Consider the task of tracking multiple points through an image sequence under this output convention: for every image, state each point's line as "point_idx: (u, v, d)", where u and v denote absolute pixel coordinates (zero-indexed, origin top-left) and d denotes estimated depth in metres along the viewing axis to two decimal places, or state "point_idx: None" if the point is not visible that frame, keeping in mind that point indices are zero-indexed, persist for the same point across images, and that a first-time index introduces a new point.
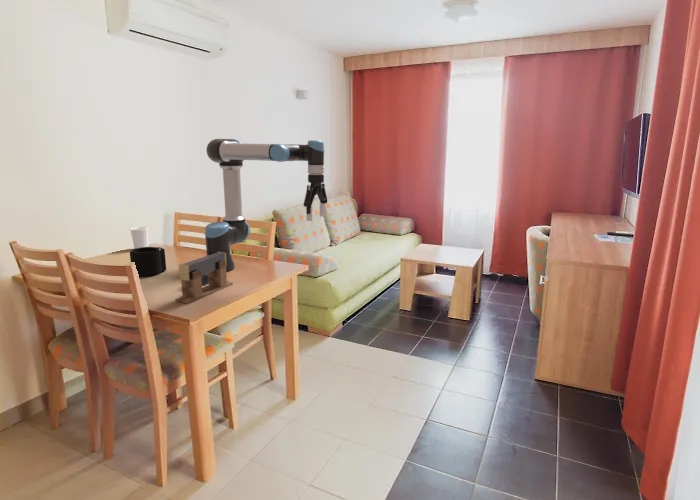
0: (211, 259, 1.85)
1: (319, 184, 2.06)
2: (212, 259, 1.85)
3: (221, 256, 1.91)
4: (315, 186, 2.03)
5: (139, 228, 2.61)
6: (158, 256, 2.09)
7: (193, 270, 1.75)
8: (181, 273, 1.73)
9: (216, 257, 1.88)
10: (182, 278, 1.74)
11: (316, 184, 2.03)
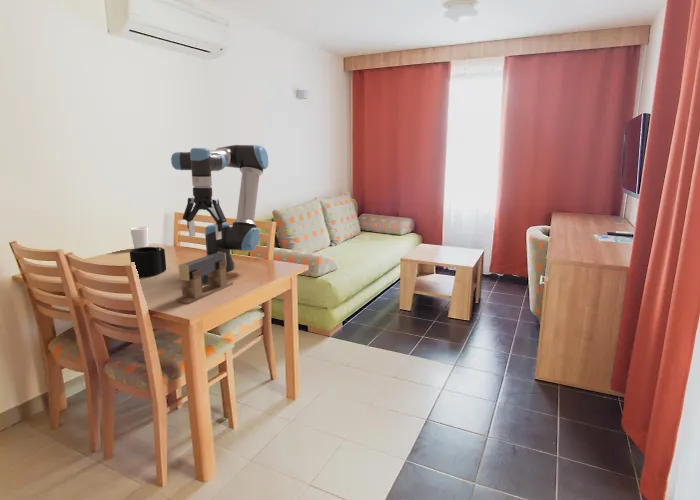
0: (211, 259, 1.85)
1: (204, 199, 1.76)
2: (212, 259, 1.85)
3: (221, 256, 1.91)
4: (196, 200, 1.78)
5: (139, 228, 2.61)
6: (158, 256, 2.09)
7: (193, 270, 1.75)
8: (181, 273, 1.73)
9: (216, 257, 1.88)
10: (182, 278, 1.74)
11: (198, 198, 1.77)
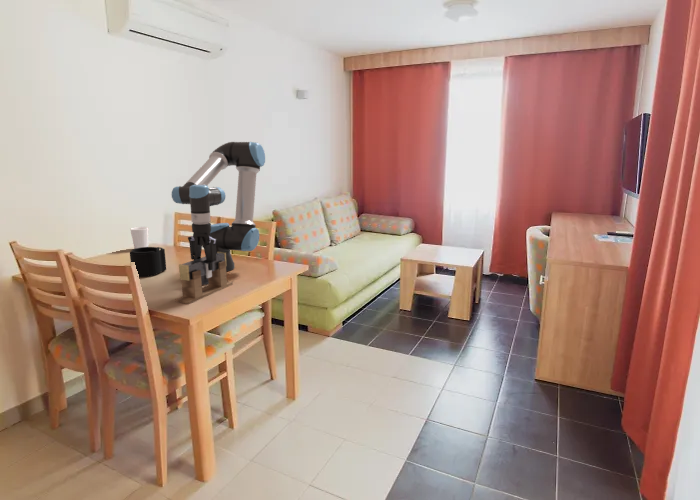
0: None
1: (203, 235, 1.79)
2: None
3: (221, 256, 1.91)
4: (195, 235, 1.81)
5: (139, 228, 2.61)
6: (158, 256, 2.09)
7: (193, 270, 1.75)
8: (181, 273, 1.73)
9: (216, 257, 1.88)
10: (182, 278, 1.74)
11: (197, 233, 1.80)
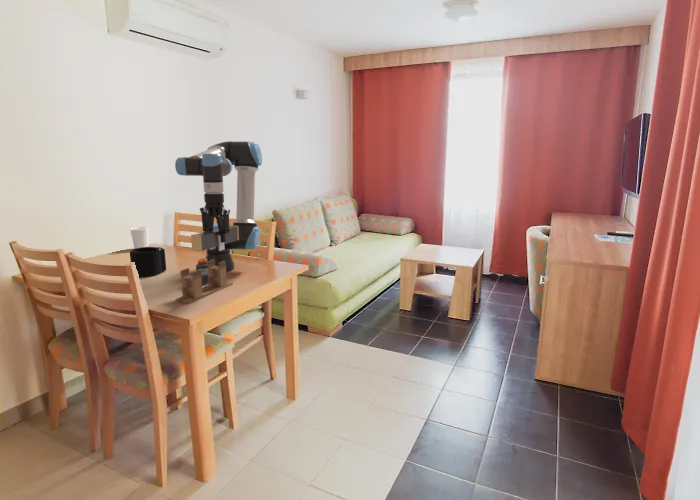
0: None
1: (215, 205, 1.73)
2: None
3: (233, 229, 1.85)
4: (207, 206, 1.75)
5: (139, 228, 2.61)
6: (158, 256, 2.09)
7: (206, 241, 1.69)
8: (193, 244, 1.67)
9: None
10: (194, 249, 1.68)
11: (209, 204, 1.74)
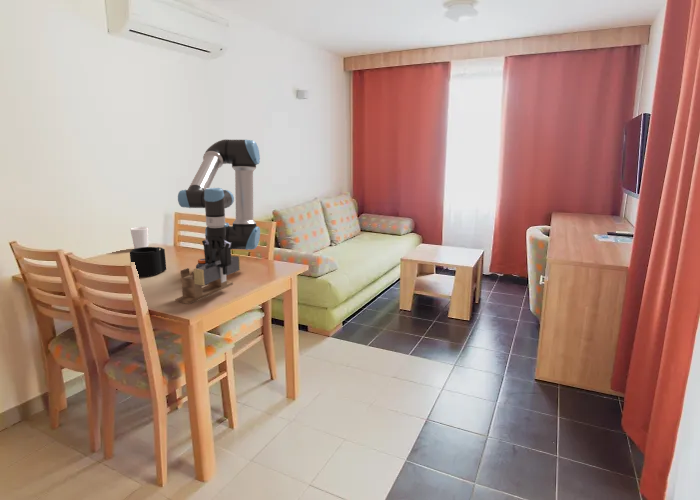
0: None
1: (217, 238, 1.76)
2: None
3: (235, 260, 1.88)
4: (209, 239, 1.78)
5: (139, 228, 2.61)
6: (158, 256, 2.09)
7: (208, 274, 1.73)
8: (196, 277, 1.71)
9: None
10: (197, 283, 1.71)
11: (211, 237, 1.77)
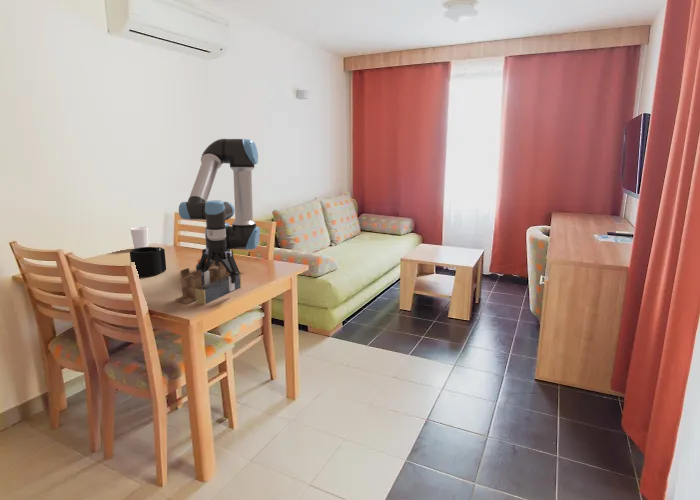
0: (226, 281, 1.84)
1: (218, 251, 1.78)
2: (227, 281, 1.85)
3: (236, 278, 1.90)
4: (210, 251, 1.79)
5: (139, 228, 2.61)
6: (158, 256, 2.09)
7: (209, 294, 1.75)
8: (197, 297, 1.73)
9: None
10: (198, 302, 1.73)
11: (212, 249, 1.79)
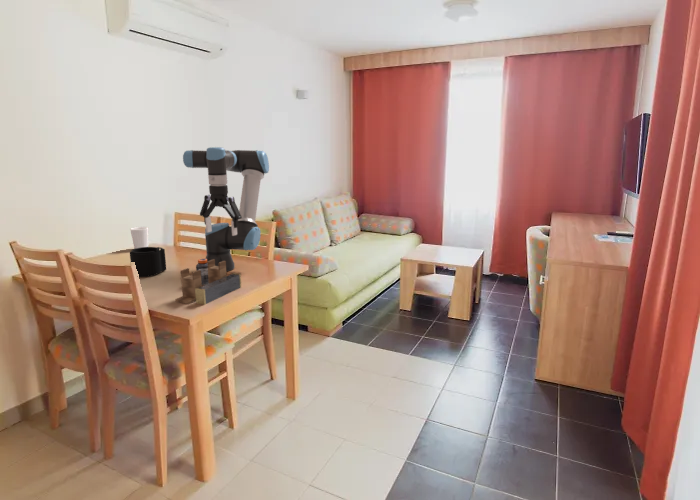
0: (226, 281, 1.84)
1: (220, 197, 1.83)
2: (227, 281, 1.85)
3: (236, 278, 1.90)
4: (212, 197, 1.85)
5: (139, 228, 2.61)
6: (158, 256, 2.09)
7: (209, 294, 1.75)
8: (197, 297, 1.73)
9: (231, 279, 1.87)
10: (198, 302, 1.73)
11: (214, 195, 1.84)
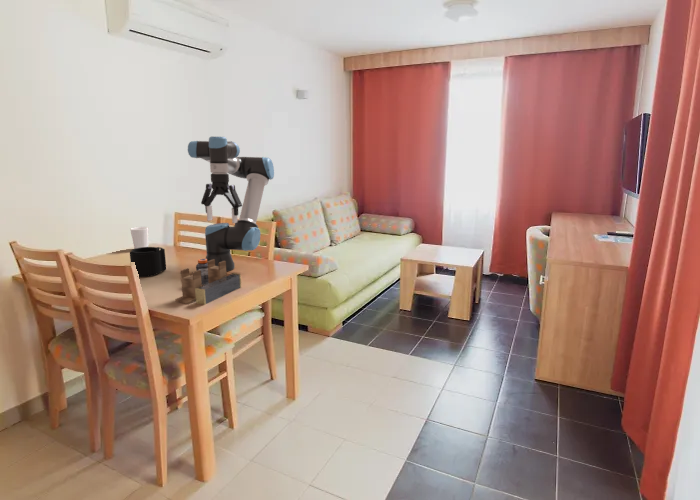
0: (226, 281, 1.84)
1: (221, 185, 1.87)
2: (227, 281, 1.85)
3: (236, 278, 1.90)
4: (213, 186, 1.89)
5: (139, 228, 2.61)
6: (158, 256, 2.09)
7: (209, 294, 1.75)
8: (197, 297, 1.73)
9: (231, 279, 1.87)
10: (198, 302, 1.73)
11: (215, 184, 1.88)
